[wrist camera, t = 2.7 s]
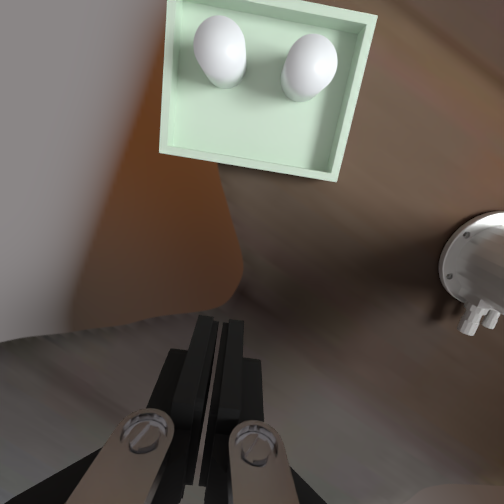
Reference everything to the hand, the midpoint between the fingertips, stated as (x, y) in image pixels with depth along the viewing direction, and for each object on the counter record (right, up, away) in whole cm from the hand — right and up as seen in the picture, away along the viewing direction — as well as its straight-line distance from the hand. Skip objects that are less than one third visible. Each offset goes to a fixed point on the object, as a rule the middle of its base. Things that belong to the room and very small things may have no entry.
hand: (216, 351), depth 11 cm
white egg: (-1, +23, +19) cm, 30 cm away
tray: (+2, +21, +21) cm, 29 cm away
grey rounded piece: (+6, +22, +20) cm, 30 cm away
